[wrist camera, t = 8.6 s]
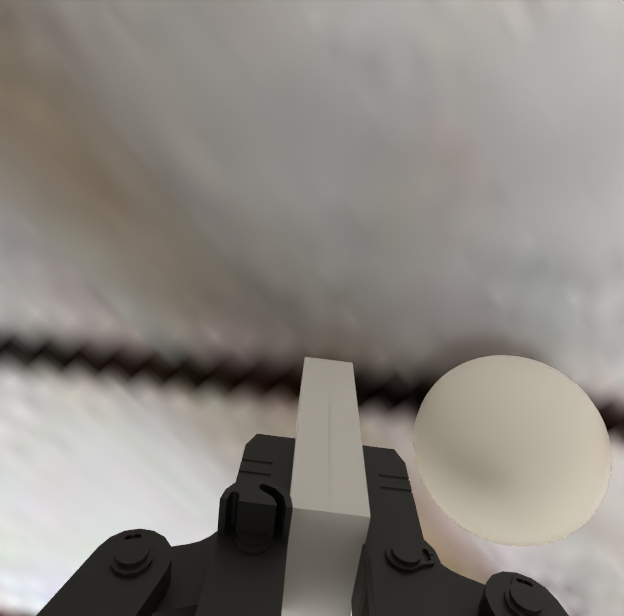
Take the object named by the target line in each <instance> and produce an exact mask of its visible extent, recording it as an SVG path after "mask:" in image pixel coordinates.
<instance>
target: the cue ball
mask: <svg viewBox="0 0 624 616" xmlns="http://www.w3.org/2000/svg"><path fill="white" fill-rule="evenodd" d="M413 445H414V455H415V460H416V464H417V468H418V471H419V474H420V476H421V479H422V481H423V483H424V485H425V487H426V489H427V491H428V493H429V494H430V496H431V497H432V499H433V500H434V501H435V503H436V504H437V505H438V506H439V508H440V509H441V510H442V511H443V512H444V513H445V514H446V515H447V516H448V517H449V518H450V519H452V520H453V521H454V522H455V523H457V524H458V525H460V526H461V527H463V528H464V529H465V530H467V531H469V532H470V533H472V534H474V535H476V536H478V537H481V538H483V539H485V540H488V541H492V542H495V543H499V544H504V545H510V546H536V545H542V544H547V543H551V542H554V541H557V540H559V539H562V538H564V537H566V536H568V535H570V534H571V533H573V532H574V531H576V530H577V529H578V528H580V527H581V526H582V525H583V524H584V523H586V522H587V521H588V520H589V519H590V518H591V517H592V515H593V514H594V513H595V512H596V510H597V509H598V507H599V505H600V503H601V502H602V500H603V498H604V496H605V494H606V491H607V488H608V485H609V480H610V475H611V470H612V453H611V445H610V439H609V436H608V433H607V429H606V427H605V424H604V421H603V419H602V417H601V415H600V413H599V411H598V410H597V408H596V407H595V405H594V404H593V403H592V401H591V400H590V398H589V397H588V396H587V394H586V393H585V392H584V391H583V390H582V389H581V388H580V387H579V386H578V385H577V384H576V383H574V382H573V381H572V380H571V379H569V378H568V377H567V376H566V375H564V374H563V373H561V372H559V371H558V370H556V369H555V368H553V367H550V366H548V365H546V364H544V363H541V362H538V361H536V360H533V359H529V358H524V357H520V356H512V355H492V356H485V357H480V358H476V359H473V360H470V361H468V362H465V363H463V364H461V365H459V366H457V367H455V368H453V369H451V370H450V371H449V372H447V373H446V374H445V375H443V376H442V377H441V378H440V379H439V380H438V381H437V382H436V383H435V384H434V385H433V387H432V388H431V389H430V391H429V392H428V393H427V395H426V396H425V398H424V400H423V402H422V404H421V406H420V409H419V412H418V414H417V417H416V422H415V426H414V441H413Z"/></svg>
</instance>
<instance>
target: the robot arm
mask: <svg viewBox="0 0 624 616" xmlns="http://www.w3.org/2000/svg"><path fill="white" fill-rule="evenodd" d="M408 479H409V477H408V473H407V469H406V465H405V462H404V461H403V460H402V459H401V458H400V456H399V455H398V454H397V453H396V451H395V450H394V449H386V448H378V447H370V446H362V439H361V431H360V422H359V414H358V405H357V397H356V388H355V379H354V371H353V363H351V362H343V361H335V360H327V359H319V358H311V357H305V359H304V367H303V374H302V382H301V389H300V397H299V404H298V412H297V419H296V427H295V435H294V438H287V437H279V436H271V435H263V434H256V435H255V436H254V437H253V438H252V439H251V440H250V441H249V442H248V443H247V444H246V446H245V450H244V453H243V457H242V461H241V465H240V468H239V473H238V476H237V480H236V483H234V484H233V485H231V486H230V487H228V488H227V489H226V490H225V491H224V493H223V495H222V496H221V498H220V506H219V518H218V531H217V532H215V533H214V534H213V535H211V536H210V537H208V538H206V539H204V540H201V541H199V542H195V543H191V544H186V545H179V546H173V547H171V546H170V544H169V543H168V541H167V540H166V538H165V537H164V536H162V535H160V534H158V533H157V532H155V531H151V530H145V529H135V530H128V531H123V532H121V533H119V534H116V535H114V536H112V537H110V538H109V539H107V540H106V541H105V542H104V543H103V544H101V545H100V546H99V547H98V548H97V549H96V550H95V551H94V552H93V553H92V555H91V556H90V557H89V558H88V559H87V560H86V561H85V562H84V563H83V565H82V566H81V567H80V568H79V569H78V570H77V571H76V572H75V573H74V574H73V576H72V577H71V578H70V579H69V580H68V581H67V582H66V583H65V584H64V586H63V587H62V588H61V589H60V590H59V591H58V592H57V593H56V594H55V596H54V597H53V598H52V599H51V600H50V601H49V602H48V603H47V604H46V605H45V607H44V608H43V609H42V610H41V611H40V612H39V613H38V614H37V615H36V616H350V615H351V610H352V616H569V615H568V614H567V613H566V611H565V610H564V609H563V607H562V606H561V605H560V603H559V602H558V601H557V599H556V598H555V597H554V596H553V595H552V594H551V593H550V592H549V591H548V590H547V589H546V588H545V587H543V586H542V585H540V584H539V583H537V582H536V581H534V580H533V579H531V578H529V577H526V576H524V575H521V574H518V573H514V572H500V573H497V574H494V575H492V576H491V577H490V579H489V580H488V581H487V582H486V585H484V584H481V583H479V582H476V581H474V580H471V579H469V578H466V577H464V576H461V575H459V574H457V573H455V572H453V571H451V570H449V569H448V568H446V567H445V566H444V565H442V564H441V562H440V560H439V558H438V556H437V554H436V552H435V550H434V549H433V548H432V547H431V546H430V545H429V544H428V543H427V542H426V541H425V540H424V539H423V535H422V531H421V526H420V522H419V518H418V514H417V510H416V506H415V502H414V498H413V494H412V493H411V491H412V490H411V485H410V481H409V480H408Z"/></svg>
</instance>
